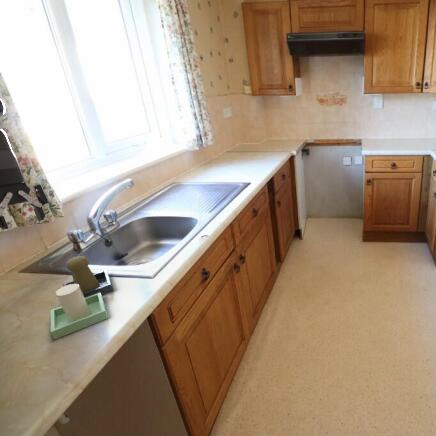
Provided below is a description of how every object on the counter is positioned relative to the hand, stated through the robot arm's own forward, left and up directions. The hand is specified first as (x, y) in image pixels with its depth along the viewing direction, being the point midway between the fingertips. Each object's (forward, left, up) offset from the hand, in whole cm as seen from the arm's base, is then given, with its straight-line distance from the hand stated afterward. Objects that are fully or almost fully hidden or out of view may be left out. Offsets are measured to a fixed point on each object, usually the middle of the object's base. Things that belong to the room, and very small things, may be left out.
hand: (24, 224), depth 92 cm
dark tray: (+9, -11, -22) cm, 26 cm away
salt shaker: (+6, -24, -21) cm, 32 cm away
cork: (+9, -11, -21) cm, 25 cm away
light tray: (+6, -24, -22) cm, 33 cm away
